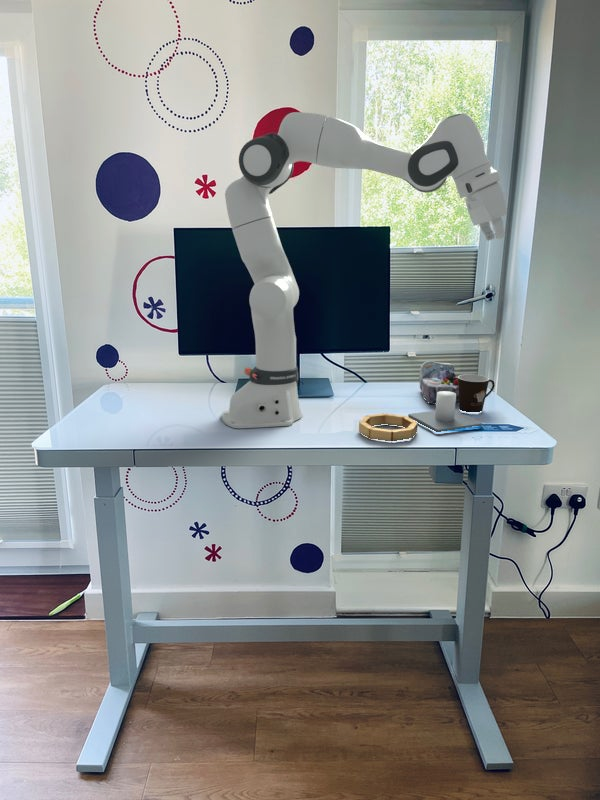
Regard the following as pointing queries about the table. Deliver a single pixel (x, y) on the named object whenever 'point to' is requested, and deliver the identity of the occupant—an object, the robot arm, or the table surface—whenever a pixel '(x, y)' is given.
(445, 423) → the piston stand
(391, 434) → the wooden ring
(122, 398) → the table surface
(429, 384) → the cell model
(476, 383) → the coffee mug
